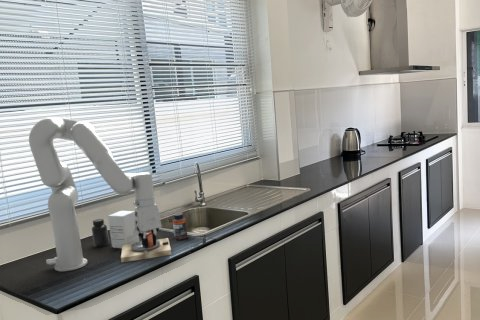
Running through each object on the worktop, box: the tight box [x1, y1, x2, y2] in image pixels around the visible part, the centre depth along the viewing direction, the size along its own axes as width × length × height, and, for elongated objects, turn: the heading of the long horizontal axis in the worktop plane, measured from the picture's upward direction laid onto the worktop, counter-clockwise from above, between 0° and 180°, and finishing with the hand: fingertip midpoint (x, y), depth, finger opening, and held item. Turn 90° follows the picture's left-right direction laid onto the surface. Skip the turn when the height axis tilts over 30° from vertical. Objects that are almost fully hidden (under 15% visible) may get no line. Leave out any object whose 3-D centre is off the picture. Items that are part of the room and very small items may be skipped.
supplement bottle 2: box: [172, 212, 188, 240], centre depth 205 cm, size 6×6×11 cm
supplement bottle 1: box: [91, 218, 110, 248], centre depth 205 cm, size 7×7×12 cm
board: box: [120, 237, 172, 263], centre depth 190 cm, size 20×18×3 cm
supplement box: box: [107, 210, 140, 249], centre depth 202 cm, size 9×9×15 cm
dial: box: [131, 231, 160, 251], centre depth 189 cm, size 13×12×7 cm
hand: (149, 245), depth 185 cm, fingers open, 3 cm apart
